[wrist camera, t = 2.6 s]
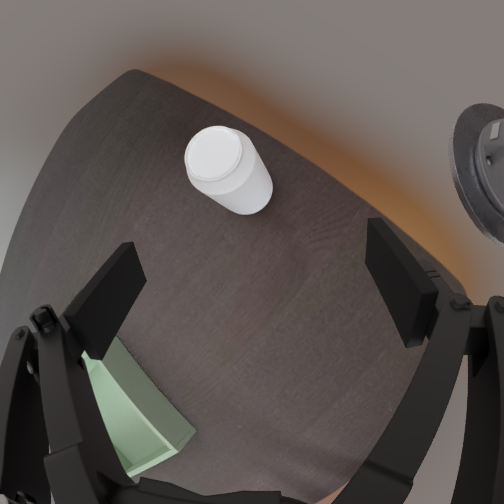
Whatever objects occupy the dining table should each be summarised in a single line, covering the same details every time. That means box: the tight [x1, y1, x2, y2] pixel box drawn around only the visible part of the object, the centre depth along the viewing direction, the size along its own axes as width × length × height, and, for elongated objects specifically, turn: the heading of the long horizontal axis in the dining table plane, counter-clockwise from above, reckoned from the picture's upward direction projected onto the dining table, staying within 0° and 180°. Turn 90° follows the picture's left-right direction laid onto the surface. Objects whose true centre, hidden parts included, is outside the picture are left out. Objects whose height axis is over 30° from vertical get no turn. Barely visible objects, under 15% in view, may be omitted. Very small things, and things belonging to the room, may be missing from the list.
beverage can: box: [185, 126, 273, 215], centre depth 27 cm, size 6×6×12 cm
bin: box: [82, 336, 197, 477], centre depth 33 cm, size 18×18×6 cm
